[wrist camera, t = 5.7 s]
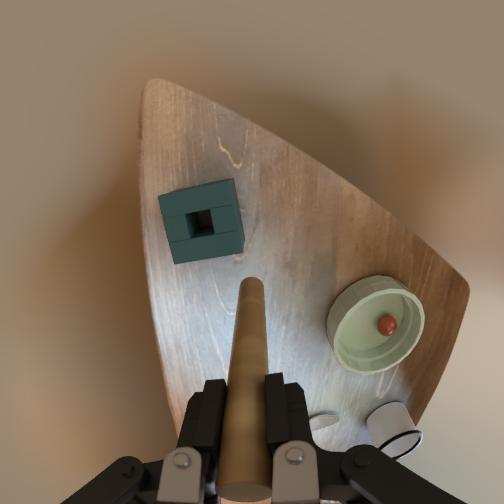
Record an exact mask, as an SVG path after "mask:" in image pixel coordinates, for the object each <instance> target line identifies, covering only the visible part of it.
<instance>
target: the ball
mask: <svg viewBox="0 0 504 504" xmlns="http://www.w3.org/2000/svg"><path fill="white" fill-rule="evenodd" d="M396 329H397V321H396V319H395V318H394V317H392V316H390V315H386V316H383V317H381V318H380V319H379V321H378V323H377V330H378V332H379V333H380V334H381V335H382V336H391V335H392V334H394V333H395V331H396Z"/></svg>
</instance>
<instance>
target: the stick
mask: <svg viewBox="0 0 504 504" xmlns="http://www.w3.org/2000/svg"><path fill="white" fill-rule="evenodd" d="M266 374H269V370H268V352H267V334H266V317H265V300H264V286H263V283H262V282H261V280H260V279H258V278H256V277H247V278H245V279H244V280H243V281H242V282H241V284H240V288H239V296H238V303H237V311H236V319H235V326H234V334H233V342H232V350H231V357H230V365H229V373H228V381H227V390H226V398H225V406H224V414H223V423H222V431H221V439H220V448H219V456H218V463H217V472H216V480H215V492H216V494H217V495H218V496H220V497H222V498H224V499H227V500H231V501H236V502H257V501H262V500H265V499H268V498H270V497H271V495H272V476H273V459H272V457H271V456H270V453H269V449H268V445H267V429H266V396H265V375H266Z"/></svg>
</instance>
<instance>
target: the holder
mask: <svg viewBox="0 0 504 504" xmlns="http://www.w3.org/2000/svg"><path fill="white" fill-rule="evenodd" d="M158 200H159V204H160V209H161V213H162V217H163V222H164V226H165V230H166V234H167V238H168V242H169V246H170V249H171V253H172V257H173V261H174V264H180V263H186V262H192V261H197V260H203V259H209V258H215V257H221V256H227V255H232V254H238V253H243V247H244V241H245V236H244V231H243V225H242V220H241V215H240V210H239V205H238V200H237V194H236V189H235V184H234V179H233V178H232V179H227V180H221V181H217V182H212V183H207V184H202V185H198V186H193V187H188V188H184V189H180V190H175V191H172V192H169V193H166V194H163V195H159V196H158ZM207 209H210V214H211V218H212V223H213V225H208V226H203V227H201V225H200V221H199V216H198V211H202V210H207Z"/></svg>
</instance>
